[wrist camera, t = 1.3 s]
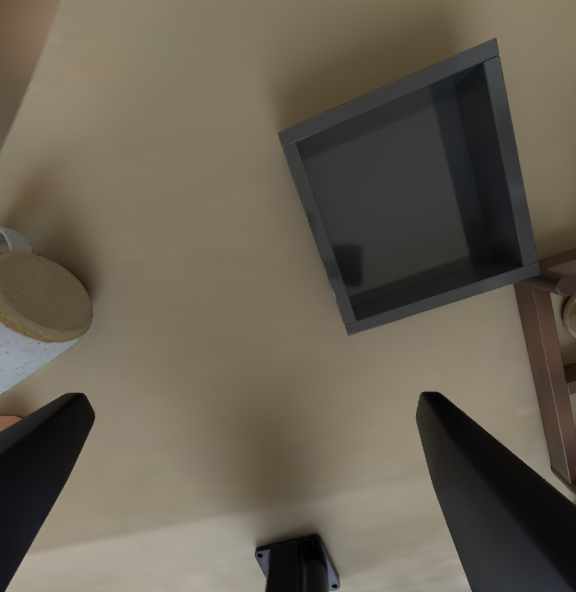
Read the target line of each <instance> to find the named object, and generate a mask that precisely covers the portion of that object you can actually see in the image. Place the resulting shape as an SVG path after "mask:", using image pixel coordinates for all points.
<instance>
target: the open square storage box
mask: <svg viewBox="0 0 576 592" xmlns="http://www.w3.org/2000/svg"><path fill="white" fill-rule="evenodd" d="M498 55H499V50H498V45H497V40H496V38H494V39H492V40H489V41H487V42H485V43H482V44H480V45H478V46H476V47H473V48H471V49H469V50H466V51H464V52H462V53H460V54H457V55H455V56H453V57H450V58H448V59H446V60H444V61H441V62H439V63H437V64H434V65H432V66H430V67H428V68H425V69H423V70H421V71H418V72H416V73H414V74H412V75H409V76H407V77H405V78H402V79H400V80H398V81H396V82H393V83H391V84H389V85H386V86H384V87H382V88H379V89H377V90H375V91H373V92H370V93H368V94H366V95H363V96H361V97H359V98H357V99H354V100H352V101H350V102H347V103H345V104H343V105H341V106H338V107H336V108H334V109H331V110H329V111H327V112H325V113H322V114H320V115H318V116H315V117H313V118H311V119H309V120H306V121H304V122H302V123H299V124H297V125H295V126H293V127H290V128H288V129H286V130H283V131H281V132H279V133H278V136H279V139H280V142H281V145H282V148H283V151H284V154H285V157H286V160H287V162H288V165H289V168H290V171H291V174H292V177H293V180H294V182H295V185H296V188H297V191H298V194H299V197H300V200H301V202H302V205H303V208H304V211H305V214H306V217H307V220H308V222H309V225H310V228H311V231H312V234H313V237H314V240H315V242H316V245H317V248H318V251H319V254H320V257H321V260H322V262H323V265H324V268H325V271H326V274H327V277H328V280H329V282H330V285H331V288H332V291H333V294H334V297H335V300H336V303H337V305H338V308H339V311H340V314H341V317H342V320H343V322H344V325H345V328H346V331H347V333H348V335H349V336H350V335H353V334H356V333H359V332H362V331H365V330H368V329H372V328H375V327H378V326H381V325H384V324H387V323H390V322H393V321H397V320H400V319H403V318H406V317H409V316H412V315H415V314H418V313H422V312H425V311H428V310H431V309H434V308H437V307H440V306H443V305H447V304H450V303H453V302H456V301H459V300H462V299H465V298H468V297H472V296H475V295H478V294H481V293H484V292H487V291H490V290H493V289H497V288H500V287H503V286H506V285H509V284H512V283H515V282H518V281H522V280H525V279H528V278H531V277H534V276H537V275H540V270H539V264H538V259H537V254H536V248H535V243H534V238H533V232H532V227H531V222H530V216H529V211H528V206H527V200H526V195H525V190H524V184H523V179H522V174H521V168H520V163H519V158H518V152H517V147H516V142H515V136H514V131H513V126H512V120H511V115H510V110H509V104H508V99H507V94H506V88H505V83H504V78H503V72H502V67H501V62H500V56H498Z"/></svg>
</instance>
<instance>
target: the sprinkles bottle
mask: <svg viewBox="0 0 576 592" xmlns="http://www.w3.org/2000/svg"><path fill="white" fill-rule="evenodd" d="M563 322H564V325H565V327H566V329H567V330H568V332H569V333H570V334H571V335H572V336H573V337H575V338H576V292H575V293H573V295H572V296H571V297H570V298H569V300H568V302H567V304H566V306H565V309H564V313H563Z"/></svg>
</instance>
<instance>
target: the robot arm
mask: <svg viewBox="0 0 576 592" xmlns="http://www.w3.org/2000/svg"><path fill="white" fill-rule="evenodd" d="M94 420H95V412H94V410H93V408H92V406H91V404H90V402H89V400H88V399H87V397H86V395H85V394H83V393H66V394H64V395H62V396H61V397H59V398H57V399H55V400H54V401H52V402H50V403H49V404H47V405H45V406H43V407H42V408H40V409H38V410H37V411H35V412H33V413H31V414H30V415H28V416H26V417H24V418H23V419H21V420H19V421H18V422H16V423H14V424H12V425H11V426H9V427H7V428H6V429H4V430H2V431H0V592H5V590H6V589H7V587H8V585H9V583H10V582H11V580H12V578H13V576H14V574H15V573H16V571H17V569H18V567H19V566H20V564H21V562H22V560H23V558H24V557H25V555H26V553H27V551H28V550H29V548H30V546H31V544H32V542H33V541H34V539H35V537H36V535H37V534H38V532H39V530H40V528H41V526H42V525H43V523H44V521H45V519H46V518H47V516H48V514H49V512H50V510H51V509H52V507H53V505H54V503H55V502H56V500H57V498H58V496H59V494H60V493H61V491H62V489H63V487H64V485H65V484H66V482H67V480H68V478H69V476H70V474H71V472H72V469H73V467H74V465H75V463H76V461H77V459H78V456H79V454H80V452H81V450H82V448H83V445H84V443H85V441H86V439H87V437H88V434H89V432H90V430H91V428H92V426H93V423H94ZM416 422H417V426H418V430H419V434H420V438H421V442H422V446H423V450H424V453H425V457H426V461H427V465H428V469H429V473H430V476H431V480H432V484H433V487H434V490H435V493H436V496H437V498H438V501H439V504H440V507H441V509H442V512H443V515H444V517H445V520H446V523H447V525H448V528H449V531H450V534H451V536H452V539H453V542H454V544H455V547H456V550H457V552H458V555H459V558H460V561H461V563H462V566H463V569H464V571H465V574H466V577H467V579H468V582H469V585H470V588H471V590H472V592H576V505H575V504H574V503H572V502H571V501H570V500H569V499H568V498H566V497H565V496H564V495H563V494H562V493H560V492H559V491H558V490H557V489H556V488H554V487H553V486H552V485H551V484H550V483H548V482H547V481H546V480H545V479H543V478H542V477H541V476H540V475H539V474H537V473H536V472H535V471H534V470H533V469H531V468H530V467H529V466H528V465H527V464H525V463H524V462H523V461H522V460H521V459H519V458H518V457H517V456H516V455H515V454H513V453H512V452H511V451H510V450H509V449H507V448H506V447H505V446H504V445H503V444H501V443H500V442H499V441H498V440H496V439H495V438H494V437H493V436H492V435H490V434H489V433H488V432H487V431H486V430H484V429H483V428H482V427H481V426H480V425H478V424H477V423H476V422H475V421H474V420H472V419H471V418H470V417H469V416H468V415H466V414H465V413H464V412H463V411H462V410H460V409H459V408H458V407H457V406H455V405H454V404H453V403H452V402H451V401H449V400H448V399H447V398H446V397H445V396H443V395H442V394H441V393H439V392H422V393H421V394H420V398H419V402H418V407H417V412H416ZM255 557H256V559H257V561H258V563H259V565H260V567H261V569H262V571H263V573H264V575H265V577H266V587H265V592H329V591H333V590H337V589H339V588H340V581H339V578H338V576H337V574H336V571H335V569H334V567H333V565H332V562H331V560H330V558H329V555H328V553H327V551H326V549H325V546H324V544H323V542H322V540H321V537H320V536H318V535H310V536H306V537H301V538H297V539H292V540H288V541H283V542H279V543H274V544H270V545H266V546H261V547H258V548H256V550H255Z"/></svg>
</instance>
